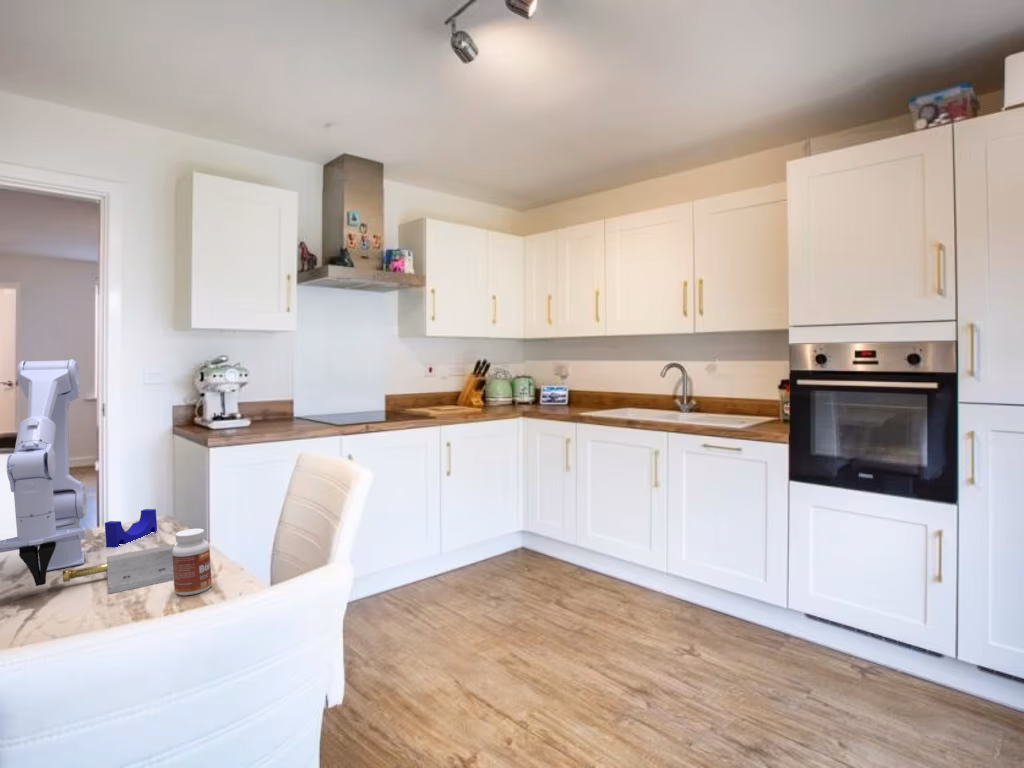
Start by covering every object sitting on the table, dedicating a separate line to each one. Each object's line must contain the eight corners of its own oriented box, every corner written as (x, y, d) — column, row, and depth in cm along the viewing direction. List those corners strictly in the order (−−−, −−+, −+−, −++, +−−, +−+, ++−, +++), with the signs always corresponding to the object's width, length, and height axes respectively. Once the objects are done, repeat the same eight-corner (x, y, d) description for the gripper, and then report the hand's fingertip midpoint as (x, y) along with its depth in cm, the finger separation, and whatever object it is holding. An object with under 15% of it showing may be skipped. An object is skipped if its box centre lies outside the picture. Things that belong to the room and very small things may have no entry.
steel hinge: (108, 593, 109) (107, 573, 109) (107, 564, 125) (105, 546, 125) (181, 577, 116) (180, 558, 116) (171, 552, 132) (170, 535, 132)
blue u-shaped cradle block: (142, 532, 149) (140, 508, 149) (157, 532, 148) (155, 509, 148) (100, 547, 137) (99, 522, 137) (117, 548, 137) (115, 523, 136)
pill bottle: (206, 594, 108) (203, 535, 107) (169, 598, 106) (165, 538, 106) (215, 581, 114) (212, 525, 113) (180, 585, 112) (177, 528, 112)
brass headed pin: (63, 583, 112) (62, 572, 112) (63, 580, 114) (63, 568, 114) (143, 567, 120) (142, 556, 120) (142, 564, 122) (141, 553, 121)
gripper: (-20, 525, 103) (-14, 600, 104) (82, 510, 111) (87, 580, 112) (-14, 516, 109) (-8, 588, 109) (83, 503, 117) (88, 569, 118)
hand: (40, 583), depth 111 cm, fingers closed
